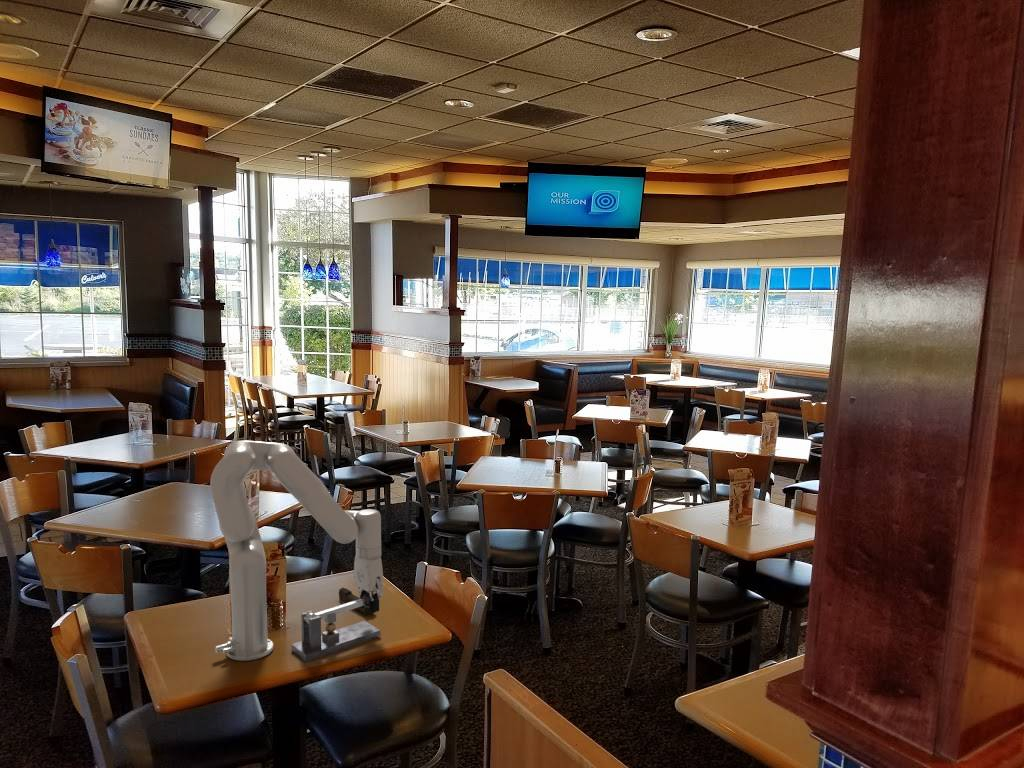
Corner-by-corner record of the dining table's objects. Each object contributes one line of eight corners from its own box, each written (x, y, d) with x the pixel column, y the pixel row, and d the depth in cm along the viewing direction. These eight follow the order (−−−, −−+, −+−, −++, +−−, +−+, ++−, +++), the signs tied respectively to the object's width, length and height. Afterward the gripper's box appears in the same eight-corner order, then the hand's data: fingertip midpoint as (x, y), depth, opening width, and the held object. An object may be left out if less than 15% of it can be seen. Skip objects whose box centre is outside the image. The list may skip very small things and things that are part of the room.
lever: (310, 631, 206) (309, 615, 206) (303, 626, 210) (302, 610, 209) (379, 608, 221) (379, 593, 221) (371, 604, 225) (371, 588, 224)
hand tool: (376, 614, 236) (376, 600, 236) (365, 618, 233) (365, 604, 233) (346, 597, 250) (346, 584, 250) (336, 600, 247) (336, 587, 247)
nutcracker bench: (306, 661, 204) (305, 624, 203) (291, 650, 210) (290, 613, 209) (380, 636, 220) (379, 601, 219) (364, 626, 226) (364, 592, 225)
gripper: (343, 546, 223) (344, 604, 225) (372, 561, 211) (373, 621, 213) (365, 541, 229) (366, 597, 230) (394, 555, 216) (395, 614, 218)
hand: (369, 608), depth 222 cm, fingers closed on lever, 4 cm apart
